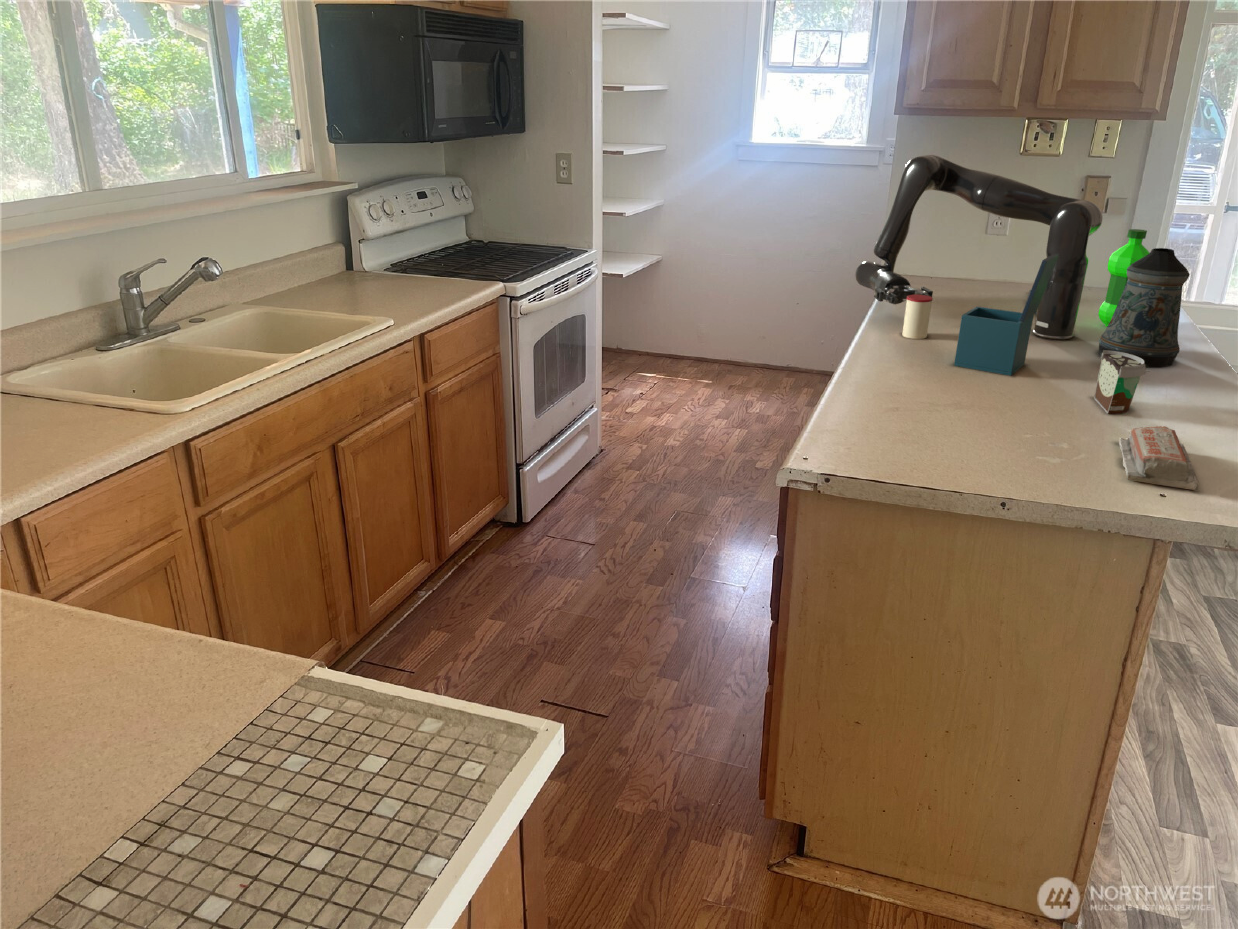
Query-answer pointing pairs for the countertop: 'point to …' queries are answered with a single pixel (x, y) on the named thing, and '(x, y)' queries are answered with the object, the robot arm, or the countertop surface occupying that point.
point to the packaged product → (1157, 458)
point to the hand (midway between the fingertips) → (912, 300)
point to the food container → (1118, 381)
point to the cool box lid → (1039, 287)
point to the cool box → (993, 340)
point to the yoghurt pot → (917, 316)
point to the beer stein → (1149, 310)
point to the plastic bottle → (1121, 271)
